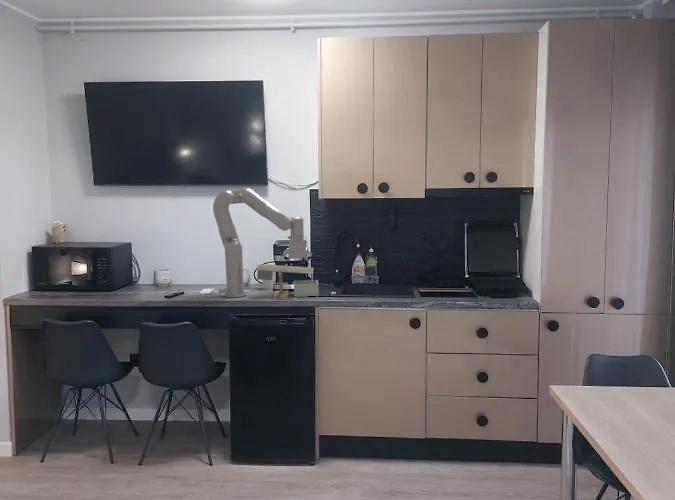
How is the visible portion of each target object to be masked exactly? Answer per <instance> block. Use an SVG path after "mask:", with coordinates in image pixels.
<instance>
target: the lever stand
mask: <svg viewBox="0 0 675 500" xmlns="http://www.w3.org/2000/svg"><path fill="white" fill-rule="evenodd" d="M283 285H284V284H283V272H282V271H279V272H278V286H279V288H278V289H279V290H274V292H273V299H283V298H284V299H286V298H287V299H288V298H289V290H284V289H283V288H284V287H283Z"/></svg>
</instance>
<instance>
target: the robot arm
mask: <svg viewBox="0 0 675 500" xmlns="http://www.w3.org/2000/svg"><path fill="white" fill-rule="evenodd" d="M236 204H245V205H246V206H248V207H249V208H250V209H252V211H254V212H255V213H257V214H258V215H259V216H261V217H262V218H264V219H267V220H268V221H269V222H271V224H273V225H275V226H276V227H277V228H278V229H279V230H280V231H284V232H285V231H286V232H287V231H288V230H290V231H289V232H290V235H289V236H288V237H287V239H288V240H289V241H288V242H289V243H288V250H287V251H285V252H283V253H282V254H281V255H282V257H283V258H284V260H285V261H286V263H287V266H291V261H290V260H292V259H304V260H305V264H304V265H305V266H304V267H309V260H310V259H312V256H313V253H312V252H311V251H309V250H307V244H306V240H305V238H304V236H305V235H304V231H305V230H304V218H303V217H302V216H293V217H288V216H287V215H285V214H284V213H282V212H281V211H280V210H278V209H277V208H276V207H274V205H272V204H271V203H270V202H269V201H267V200H266V199H265V198H264V197H262V196H260V194H258V192H255V191H254V189H251V188H249V187H242V188H229V189H228V188H227V189H223V190H221V191H220V192H219V193H218V194H217V195H216V197H215V198H214V201H213V206H212V210H213V215H214V219H215V223H216V224H217V229H218V234H219V237H220V240H221V242H222V245H223V248H224V259H225V262H224V263H225V278H226V288H223V289H222V288H220V289H218V293H221V294H222V293H224V294H223V297H225V298H242V297H245V296H247V295H248V294H247V292H245V287H244V269H243V268H244V267H243V266H244V263H243V262H244V261H243V246H242V244H241V241H240V239H239V236H238V233H237V229H236V226H235V224H234V222H233V219H232V216H231V213H230V206H231V205H236ZM307 254H308V255H309V256H308V257H307ZM287 255H288V257H287Z"/></svg>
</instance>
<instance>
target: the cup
mask: <svg viewBox="0 0 675 500" xmlns="http://www.w3.org/2000/svg"><path fill="white" fill-rule="evenodd" d="M319 286H320V285H319V281H318V279H313V281H312V279H307V280H293V297H294V298H309V297H308V296H316V297H319V296H320V295H319V294H320V291H319V289H320V288H319Z"/></svg>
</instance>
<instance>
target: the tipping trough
mask: <svg viewBox="0 0 675 500" xmlns="http://www.w3.org/2000/svg"><path fill="white" fill-rule="evenodd" d="M256 271H257V274H256V275H257V277H256V280H261V281H262V280H272V271H276V273H277V272H278V273H279V271H282V273H293V274H296V273H297V274H309V275H311V280H312V281H313V280H314V267H309V266H307V267H305V266H291V265H290V266H288V265H276V264H262V263H257V265H256Z"/></svg>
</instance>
